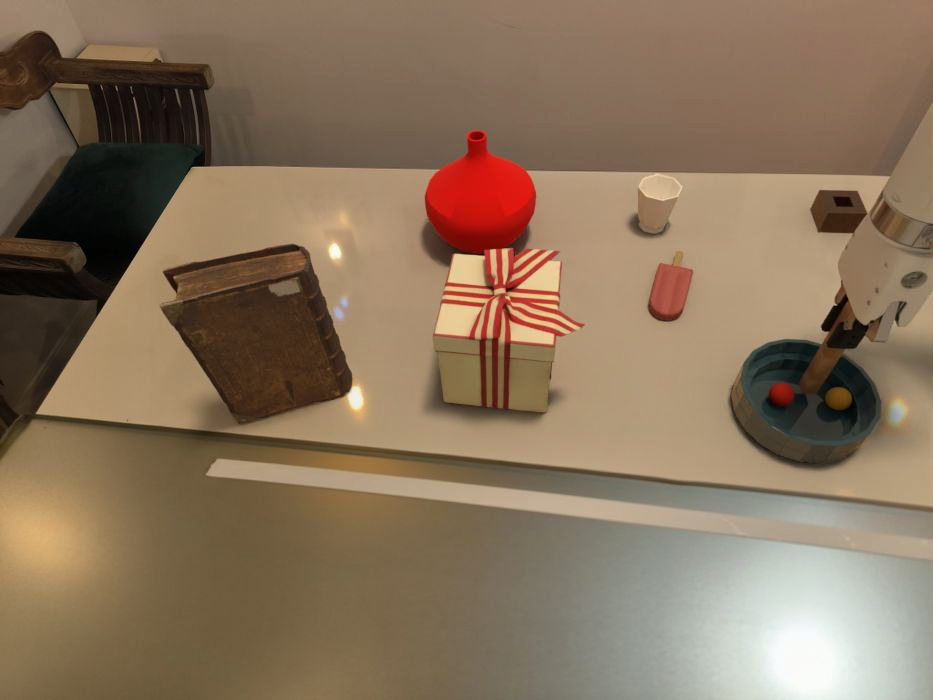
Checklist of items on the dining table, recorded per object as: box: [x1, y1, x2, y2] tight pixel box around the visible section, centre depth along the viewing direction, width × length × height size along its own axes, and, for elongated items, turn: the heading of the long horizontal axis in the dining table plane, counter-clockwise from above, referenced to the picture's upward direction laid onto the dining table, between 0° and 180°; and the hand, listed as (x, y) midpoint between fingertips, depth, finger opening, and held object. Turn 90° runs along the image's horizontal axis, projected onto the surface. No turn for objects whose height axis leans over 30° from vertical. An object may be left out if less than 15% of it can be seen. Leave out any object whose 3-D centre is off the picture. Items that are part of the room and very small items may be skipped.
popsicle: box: [648, 250, 694, 321], centre depth 95 cm, size 5×2×15 cm
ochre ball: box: [825, 387, 852, 410], centre depth 78 cm, size 3×3×3 cm
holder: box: [810, 189, 868, 234], centre depth 101 cm, size 6×6×4 cm
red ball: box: [769, 383, 794, 406], centre depth 79 cm, size 3×3×3 cm
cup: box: [637, 173, 683, 235], centre depth 102 cm, size 7×10×8 cm
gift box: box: [432, 247, 586, 413], centre depth 81 cm, size 17×18×17 cm
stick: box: [799, 300, 852, 394], centre depth 74 cm, size 2×2×16 cm
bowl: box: [730, 338, 883, 465], centre depth 78 cm, size 16×16×5 cm
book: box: [159, 243, 354, 425], centre depth 77 cm, size 17×7×25 cm, turn 100°
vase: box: [424, 129, 537, 255], centre depth 98 cm, size 18×18×19 cm
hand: (837, 337), depth 72 cm, fingers closed on stick, 1 cm apart
